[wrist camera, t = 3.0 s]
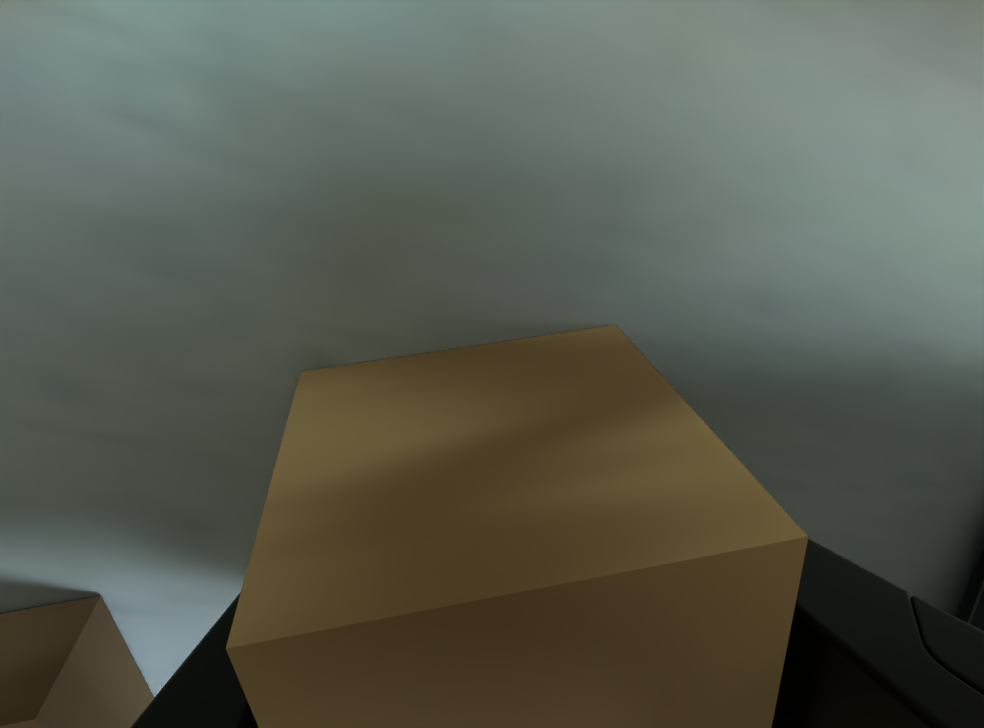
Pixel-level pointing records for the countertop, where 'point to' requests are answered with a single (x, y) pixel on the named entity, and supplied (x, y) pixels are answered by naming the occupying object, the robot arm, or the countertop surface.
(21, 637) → the base
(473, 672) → the block
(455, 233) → the countertop surface
